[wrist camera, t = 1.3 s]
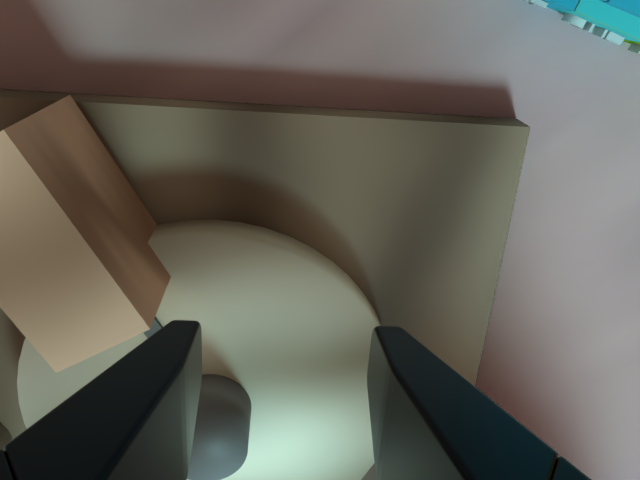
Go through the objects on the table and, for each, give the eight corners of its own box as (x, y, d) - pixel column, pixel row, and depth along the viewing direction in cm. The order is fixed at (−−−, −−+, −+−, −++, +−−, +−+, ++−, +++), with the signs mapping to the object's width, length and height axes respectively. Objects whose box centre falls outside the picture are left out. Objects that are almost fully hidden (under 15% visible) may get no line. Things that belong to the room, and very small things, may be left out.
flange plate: (440, 435, 23) (472, 530, 19) (161, 548, 25) (136, 657, 21) (217, 14, 17) (194, 25, 13) (-144, 210, 18) (-265, 275, 14)
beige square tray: (516, 119, 20) (604, 171, 14) (432, 536, 28) (467, 672, 22) (-102, 83, 18) (-267, 127, 13) (-2, 534, 26) (-78, 679, 21)
